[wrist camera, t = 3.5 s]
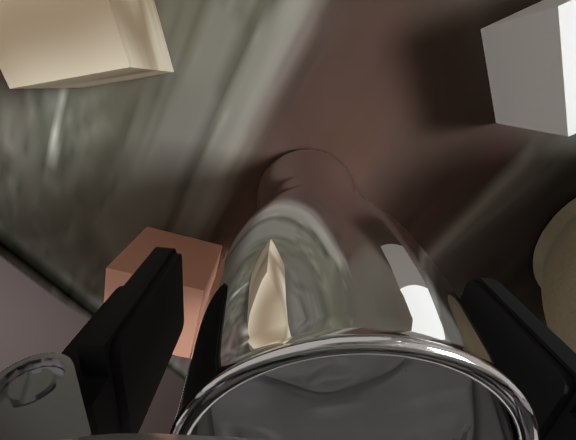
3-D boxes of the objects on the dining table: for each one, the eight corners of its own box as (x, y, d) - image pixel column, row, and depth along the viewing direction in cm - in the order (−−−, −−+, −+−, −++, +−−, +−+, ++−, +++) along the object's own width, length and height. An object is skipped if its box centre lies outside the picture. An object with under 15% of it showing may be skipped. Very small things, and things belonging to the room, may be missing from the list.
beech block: (43, -24, 15) (-67, -73, 10) (142, -45, 15) (74, -104, 10) (85, 87, 17) (9, 88, 12) (174, 72, 16) (130, 66, 12)
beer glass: (271, 258, 21) (238, 587, 7) (233, 161, 18) (67, 391, 5) (372, 230, 20) (552, 543, 6) (347, 124, 17) (567, 270, 4)
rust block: (147, 225, 20) (105, 267, 16) (222, 245, 21) (204, 290, 16) (140, 286, 22) (101, 339, 18) (209, 302, 23) (189, 358, 18)
